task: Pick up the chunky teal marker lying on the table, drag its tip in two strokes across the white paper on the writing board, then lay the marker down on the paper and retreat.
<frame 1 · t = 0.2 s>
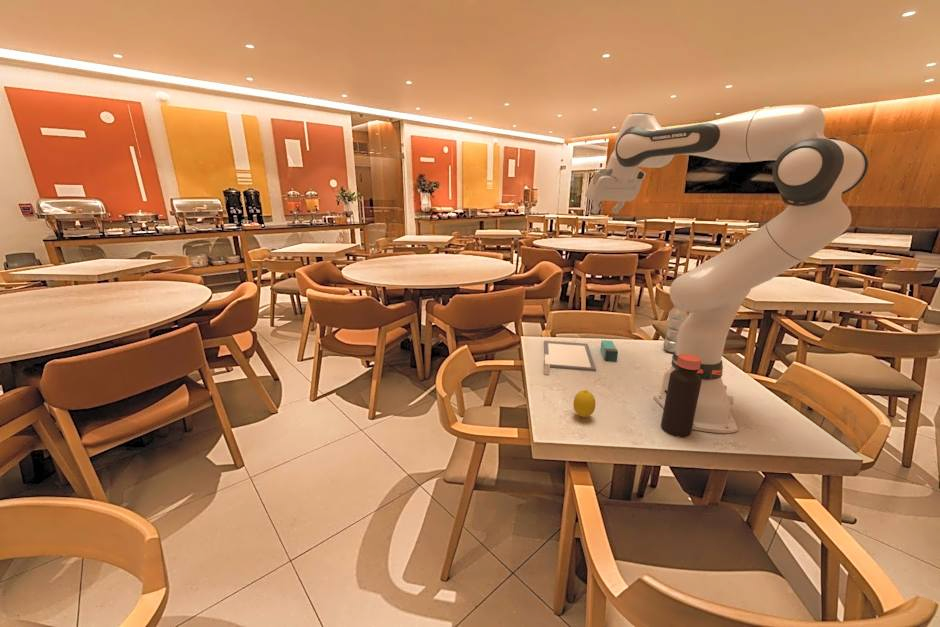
hand: (604, 213, 125), 51 cm above the table, tool tilted 20°, fingers open, 8 cm apart
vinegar: (675, 430, 95), on the table, touching arm
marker: (608, 355, 140), on the table
lemon: (582, 417, 100), on the table
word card: (546, 369, 128), on the table
plastic bottle: (671, 351, 145), on the table
writing board: (567, 355, 140), on the table
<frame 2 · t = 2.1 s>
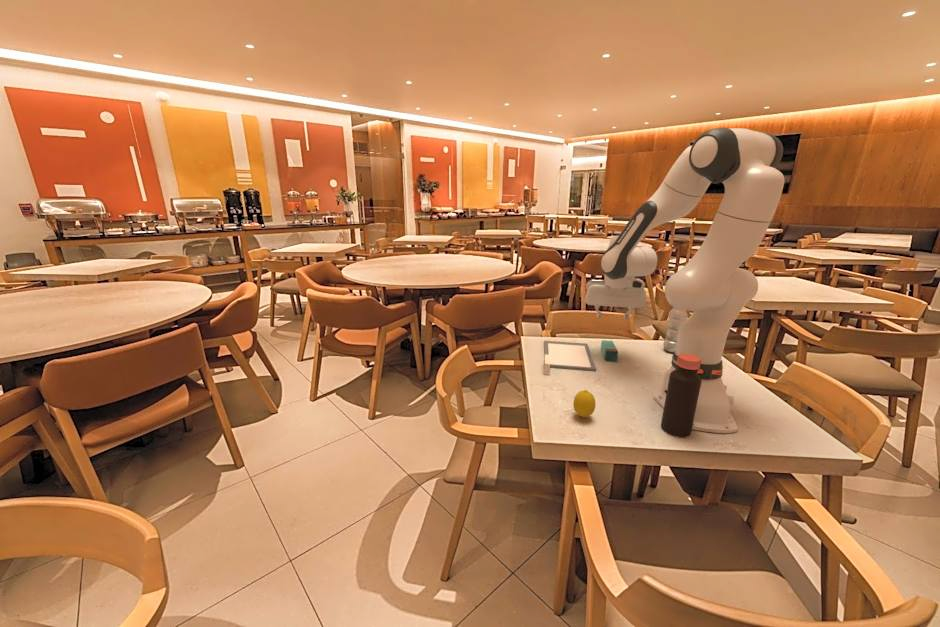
hand: (612, 317, 136), 15 cm above the table, tool pointing down, fingers open, 8 cm apart
nothing on the table moved.
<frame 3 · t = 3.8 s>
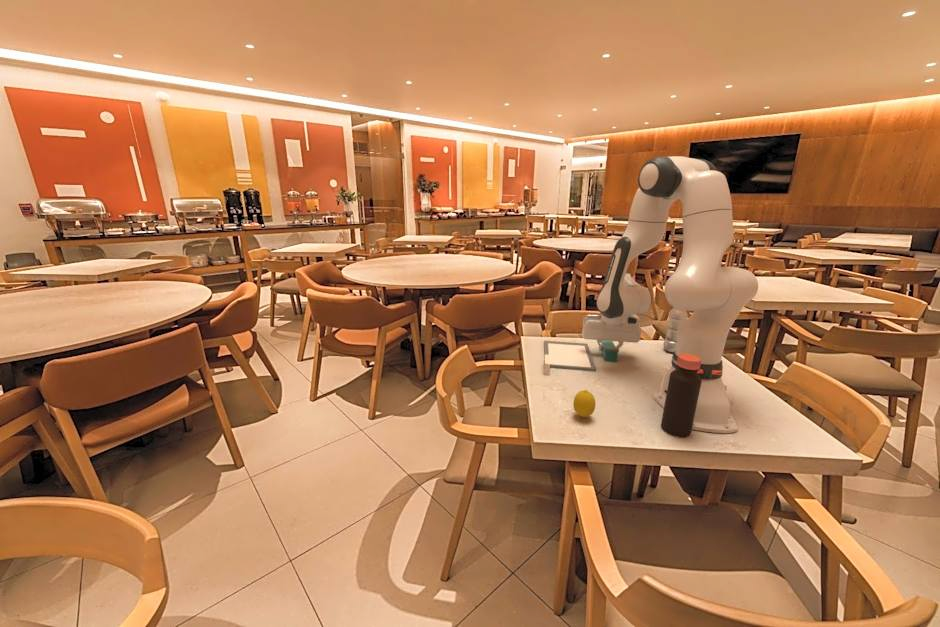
hand: (608, 351, 140), 2 cm above the table, tool pointing down, fingers closed on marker, 4 cm apart
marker: (608, 355, 140), on the table, touching gripper
everything else where it was.
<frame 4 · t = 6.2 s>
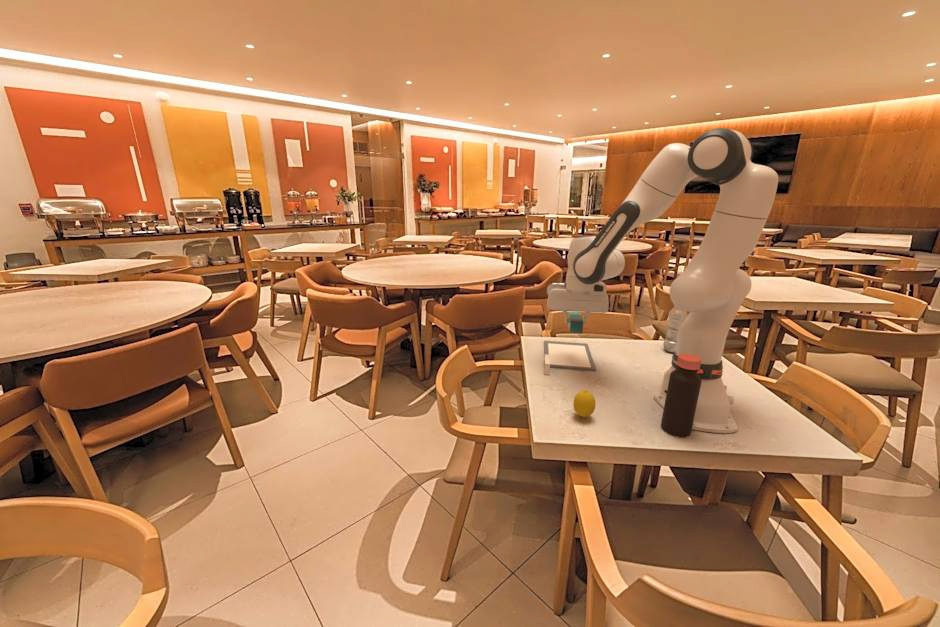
hand: (575, 323, 130), 15 cm above the table, tool pointing down, fingers closed on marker, 4 cm apart
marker: (574, 327, 131), point 13 cm above the table, touching gripper
everything else where it was.
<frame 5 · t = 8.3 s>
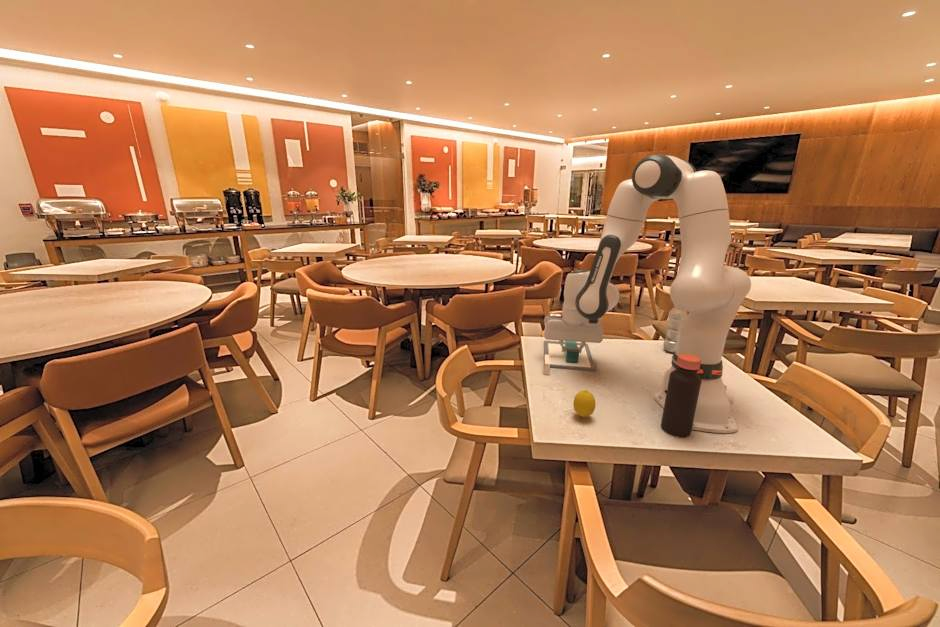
hand: (571, 351, 136), 3 cm above the table, tool pointing down, fingers closed on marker, 4 cm apart
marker: (570, 356, 136), point 1 cm above the table, touching gripper
everything else where it was.
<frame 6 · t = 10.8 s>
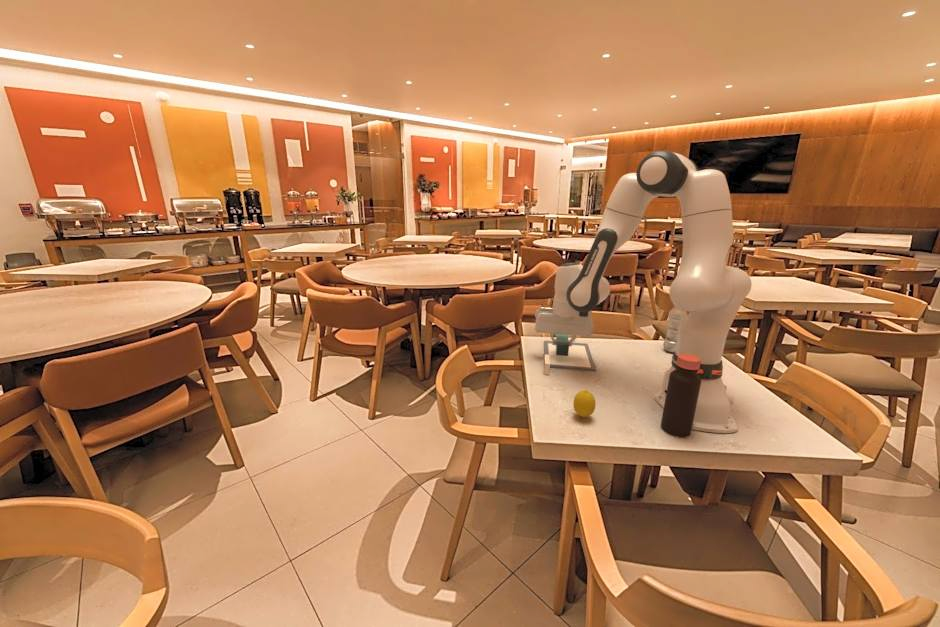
hand: (561, 345, 136), 5 cm above the table, tool pointing down, fingers closed on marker, 4 cm apart
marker: (561, 349, 136), point 4 cm above the table, touching gripper
everything else where it was.
when the fingers open (3 cm above the table, at t = 12.8 s): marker stays where it is, resting on writing board.
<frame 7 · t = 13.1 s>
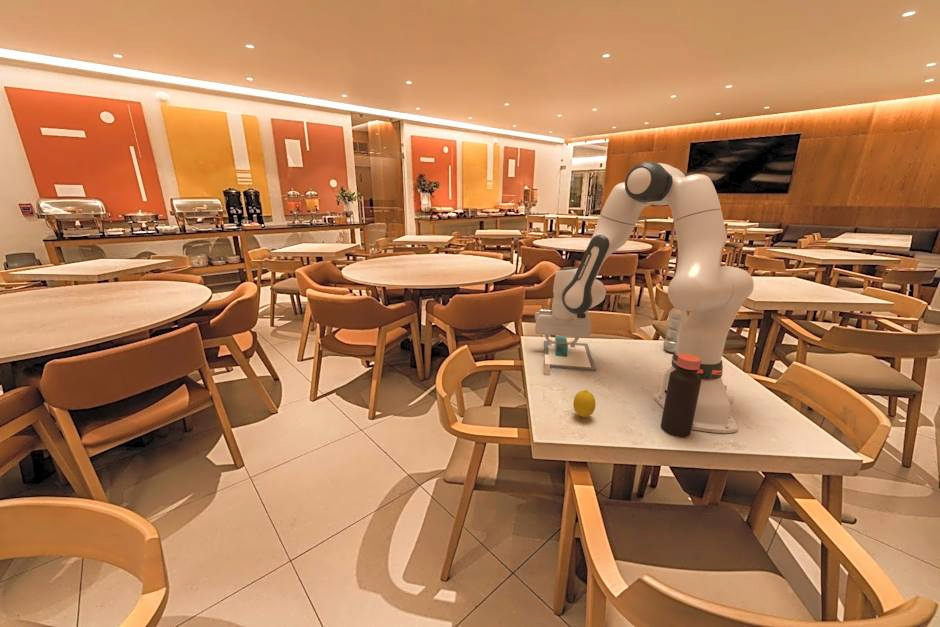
hand: (560, 345, 141), 3 cm above the table, tool pointing down, fingers open, 7 cm apart
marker: (560, 350, 142), point 1 cm above the table, touching writing board
everything else where it was.
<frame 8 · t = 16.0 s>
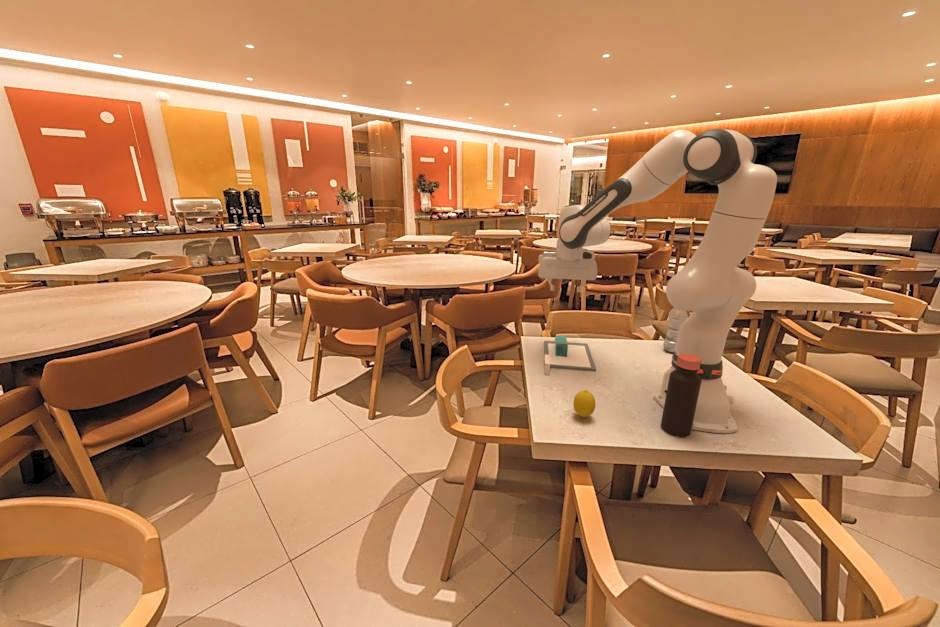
hand: (565, 291, 135), 24 cm above the table, tool pointing down, fingers open, 8 cm apart
nothing on the table moved.
at the end: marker inside the target area on the writing board (3.3 cm from its centre), point 0.9 cm above the writing board's base; the gripper is holding nothing; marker moved 17.5 cm from its start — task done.
